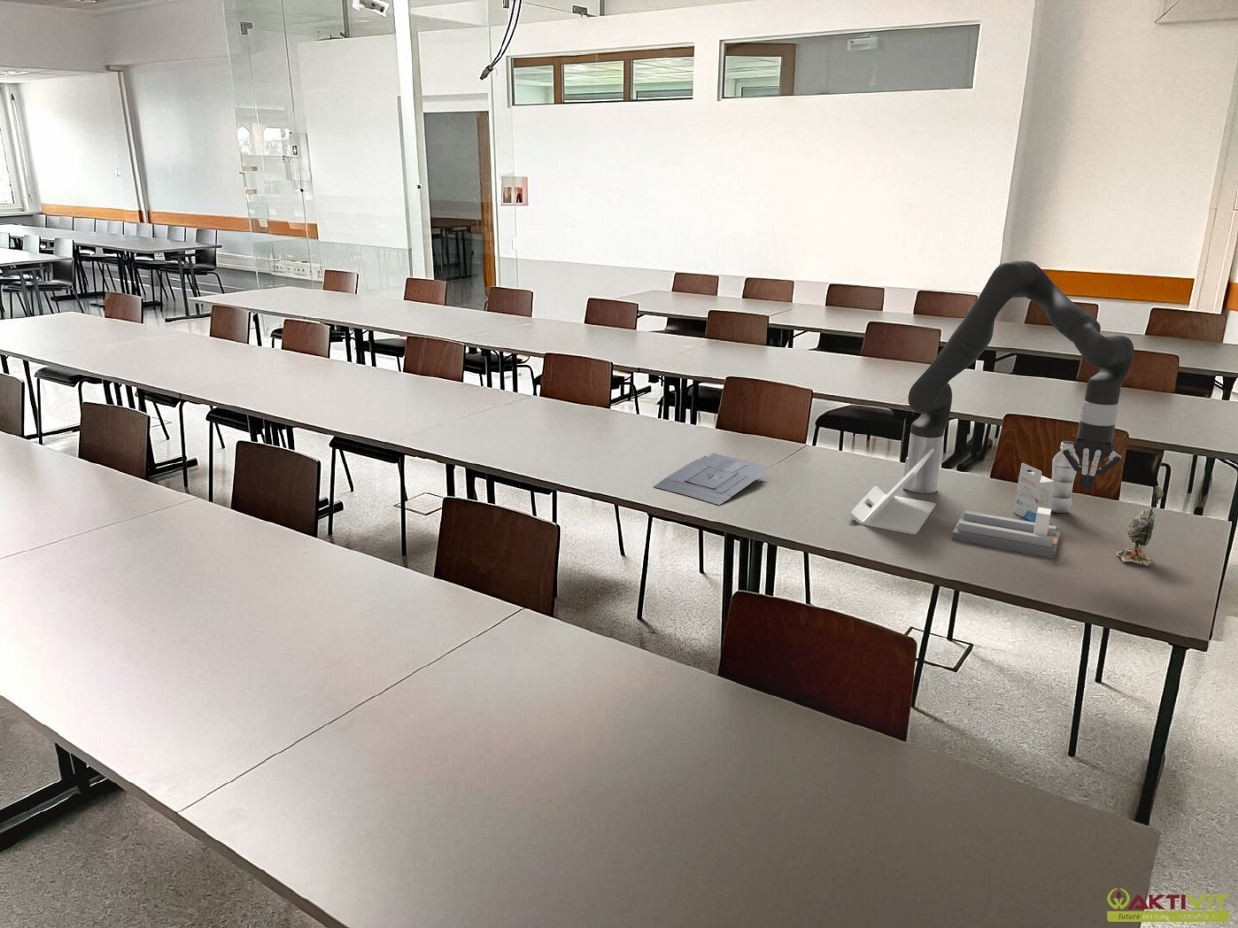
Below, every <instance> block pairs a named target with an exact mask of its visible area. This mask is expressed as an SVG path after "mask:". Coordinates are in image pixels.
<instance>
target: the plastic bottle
mask: <svg viewBox="0 0 1238 928" xmlns="http://www.w3.org/2000/svg"><path fill="white" fill-rule="evenodd" d="M1074 442H1075V441H1070V440H1069V441H1068V440H1063V441H1061V443H1060V446H1059V449H1060V450H1059V451H1058V452H1057V453H1056V454H1055V455H1054V457H1053V458H1052V461H1051V462H1052V469H1051V471H1052V472H1051V473H1052V474H1051V480H1053V481H1055V482H1054V488H1053V494H1052V500H1051V506H1050V509H1052V510H1051V513H1052V512H1053V513H1058V514H1065V513H1066V514H1067V513H1068V512H1069V511H1071V507H1072V506H1073V497H1072V496H1073V486H1074V481H1075V477H1076V476H1077V472H1078V471H1075V470H1074V469H1073V467H1072V466H1071V464H1070V463H1069V461H1068V460H1067V458H1066V457H1065V455H1064V454H1063V450H1064V448H1066V447H1067V448H1068V447H1070V446H1072V445H1073V444H1074ZM1073 456H1074V457H1075V459H1076V460H1077V462H1078V463H1079V464H1080V459H1079V456H1078V454H1077V453H1076V451H1075V450H1074V455H1073Z"/></svg>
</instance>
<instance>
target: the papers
mask: <svg viewBox="0 0 1238 928" xmlns="http://www.w3.org/2000/svg"><path fill="white" fill-rule="evenodd" d="M769 467H770V465H766V464H762V463H756V462H753V461H749V460H745V459H744V460H743V459H740V458H735V457H731V456H727V455H723V454H718V453H714V452H713V453H711V454H710V455H708V456H706V455H703V456H702V457H700V458H699V459H698V458H697V459H695V460H693V461H691V462H690V463H688V464H685V465H684V466H682V467H681V468H679V469H677V470H676V471H674V472H673V473H670V474H669V475H668V476H667V477H665V478H663V479H662V480H660V481H658V483H656V484H655V485H654V486H653V487H654V488H657V489H662V490H663V491H668V492H673V493H677V494H680V495H681V494H682V495H684V496H685V495H686V496H688V497H692V498H695V499H697V500H701V501H703V502H704V501H705V502H708V503H711V504H715V505H717V506H721V505H722V504H723V503H725V502H727V501H728V500H730V499H731V498H732V497H734V496H735V495H736V494H737V493H738V492H740V491H742V490H743V489H744V488H746V487H747V486H749V485H750V484H751V483H753V482H755V481H756V480H758V479H759V478H761V477H762V476H763V474H765V473H766V472H767V470H766V469H768V468H769Z"/></svg>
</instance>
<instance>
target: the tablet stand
mask: <svg viewBox="0 0 1238 928" xmlns="http://www.w3.org/2000/svg"><path fill="white" fill-rule="evenodd" d="M934 451H935V450H934V449H933V448H932V449H931V450H930V451H929V452H928V453H927V454H926V455H925V456H924V457H923V458H922V459H921V460H920V461H919V462H918V463H917V464H916V465H915V466H914V467H913V468H912V469H911V470H910V471H909V472H908V473H907V474H906V475H905V476H904V475H903V477H902V478H901V479H900V480H899V481H898V482H897V483H896V485H894V486H893V487H892V489H890V491H888V493H885V492H883V491H882V489H880V488H879V487H878V486H877V485H874V486H873V487H872V488H871V489H870V490H869V491H868V493H866V495H864V497H863V498H862V499H861V500H860V501H859V502H858V504H857V505H855V506H854V508H853V509H852V510H851V511H850V512H849V516H850V517H851V519H853V520H854V521H855V522H856V523H858V524H859V525H864V526H870V527H874V528H878V529H879V528H880V529H883V530H884V529H885V530H889V531H895V532H900V533H904V534H909V535H910V534H911V535H917V534H918V533H919V531H920V530H921V529H922V527H923V525H924V524H925V522H926V521H927V520H928V517H929V516H930V515H931V513H932V512H933V511H934V509H935V507H936V506H937V505H936V504H937V503H935V502H931V501H928V500H920V499H914V498H908V497H903V496H897V493H898V492H899V491H900V490H901V489H903V486H904V485H905V484H906V483H907V482H908V481H909V480H910V479H911V478H912V477H913V476H914V475H915V474H916V473H917V472H918V470H919V469H920V468H921V467H922V465H923V464H924V463H925V462H926V461H927V459H928V458H929V457H930V456H931V454H932V453H933V452H934ZM865 502H868V503H869V505H871V507H870V506H869V505H867V504H866V503H865Z"/></svg>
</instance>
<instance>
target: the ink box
mask: <svg viewBox="0 0 1238 928" xmlns="http://www.w3.org/2000/svg"><path fill="white" fill-rule="evenodd" d="M1020 464H1021V465H1020V471H1019V473H1018V480H1017V481H1018V482H1017V487H1016V488H1017V489H1016V493H1015V494H1016V495H1015V501H1014V506H1013V513H1015V514H1017V516H1020V517H1021V518H1023V519H1026V521H1028V522H1034V523H1035V520H1036V514H1037V510H1038V507H1041V508H1047V509H1050V506H1051V500H1052V494H1053V488H1054V482H1055V481H1053V480H1052V478H1048V477H1046V476H1044V475H1042V474H1043V471H1042V470H1040V469H1037V468H1035V467H1033V466H1031V465H1029V464H1026V463H1024V462H1022V463H1020ZM1029 471H1030V472H1029Z"/></svg>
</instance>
